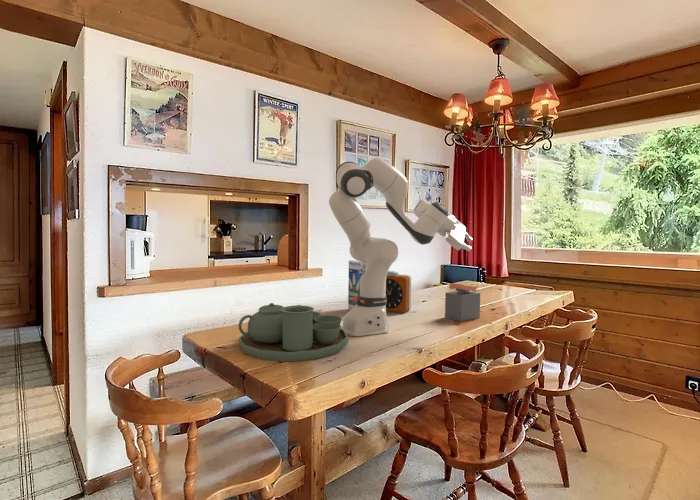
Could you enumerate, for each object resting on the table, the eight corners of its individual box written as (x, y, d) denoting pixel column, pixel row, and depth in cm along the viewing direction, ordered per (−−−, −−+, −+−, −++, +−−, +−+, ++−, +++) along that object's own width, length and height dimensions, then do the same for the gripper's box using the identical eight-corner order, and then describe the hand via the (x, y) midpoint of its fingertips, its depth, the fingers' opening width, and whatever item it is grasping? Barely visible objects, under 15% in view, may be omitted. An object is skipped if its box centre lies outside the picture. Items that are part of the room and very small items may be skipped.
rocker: (460, 291, 190) (461, 284, 190) (448, 289, 196) (450, 282, 196) (475, 294, 196) (476, 287, 196) (464, 292, 202) (465, 285, 202)
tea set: (369, 345, 154) (369, 301, 152) (280, 372, 126) (279, 319, 125) (303, 325, 182) (303, 288, 181) (219, 344, 154) (218, 300, 153)
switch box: (461, 321, 189) (461, 295, 189) (445, 317, 198) (445, 292, 197) (479, 317, 197) (480, 293, 196) (463, 313, 205) (464, 290, 204)
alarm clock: (371, 309, 213) (372, 270, 212) (378, 306, 221) (379, 268, 220) (405, 313, 205) (406, 272, 203) (411, 310, 212) (411, 271, 211)
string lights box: (347, 309, 213) (347, 260, 212) (358, 307, 218) (358, 259, 217) (365, 314, 204) (365, 262, 202) (376, 311, 209) (376, 261, 207)
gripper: (448, 230, 171) (475, 250, 171) (452, 213, 188) (476, 231, 188) (439, 241, 174) (465, 260, 174) (443, 223, 191) (467, 240, 192)
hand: (471, 245), depth 181 cm, fingers open, 8 cm apart
